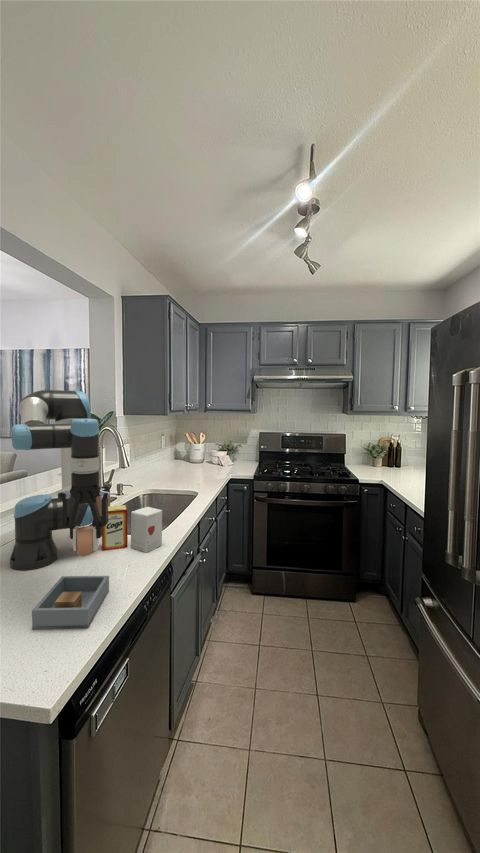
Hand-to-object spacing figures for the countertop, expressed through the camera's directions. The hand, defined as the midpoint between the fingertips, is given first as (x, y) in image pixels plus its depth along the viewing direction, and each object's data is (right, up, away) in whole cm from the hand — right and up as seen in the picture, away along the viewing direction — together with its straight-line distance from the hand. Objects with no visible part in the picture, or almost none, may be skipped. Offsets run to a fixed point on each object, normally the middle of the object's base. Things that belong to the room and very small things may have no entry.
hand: (86, 548), depth 106 cm
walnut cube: (-1, -15, -9) cm, 17 cm away
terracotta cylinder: (0, -1, 0) cm, 1 cm away
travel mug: (-16, -11, +53) cm, 56 cm away
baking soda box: (-5, -12, +39) cm, 41 cm away
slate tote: (-1, -15, -5) cm, 16 cm away
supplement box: (+8, -13, +39) cm, 41 cm away
